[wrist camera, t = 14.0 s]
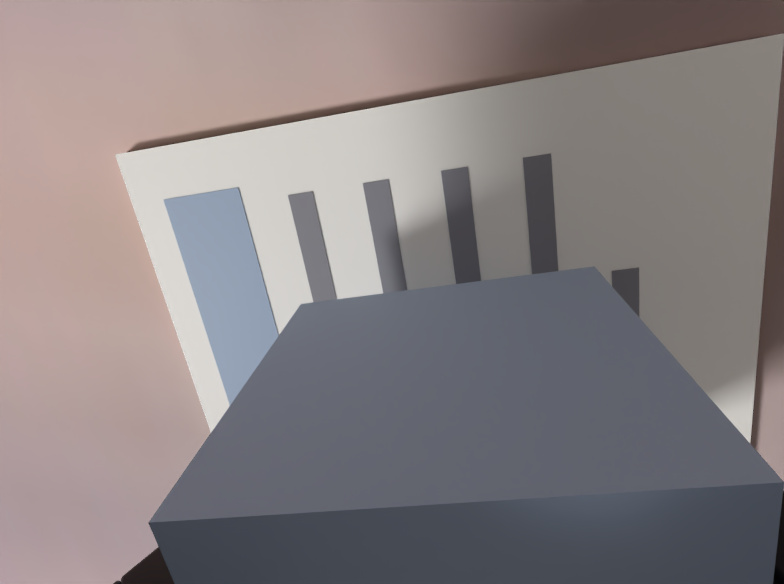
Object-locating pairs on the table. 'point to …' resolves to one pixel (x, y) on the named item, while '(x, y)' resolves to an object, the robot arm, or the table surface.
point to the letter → (483, 209)
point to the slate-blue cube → (473, 451)
